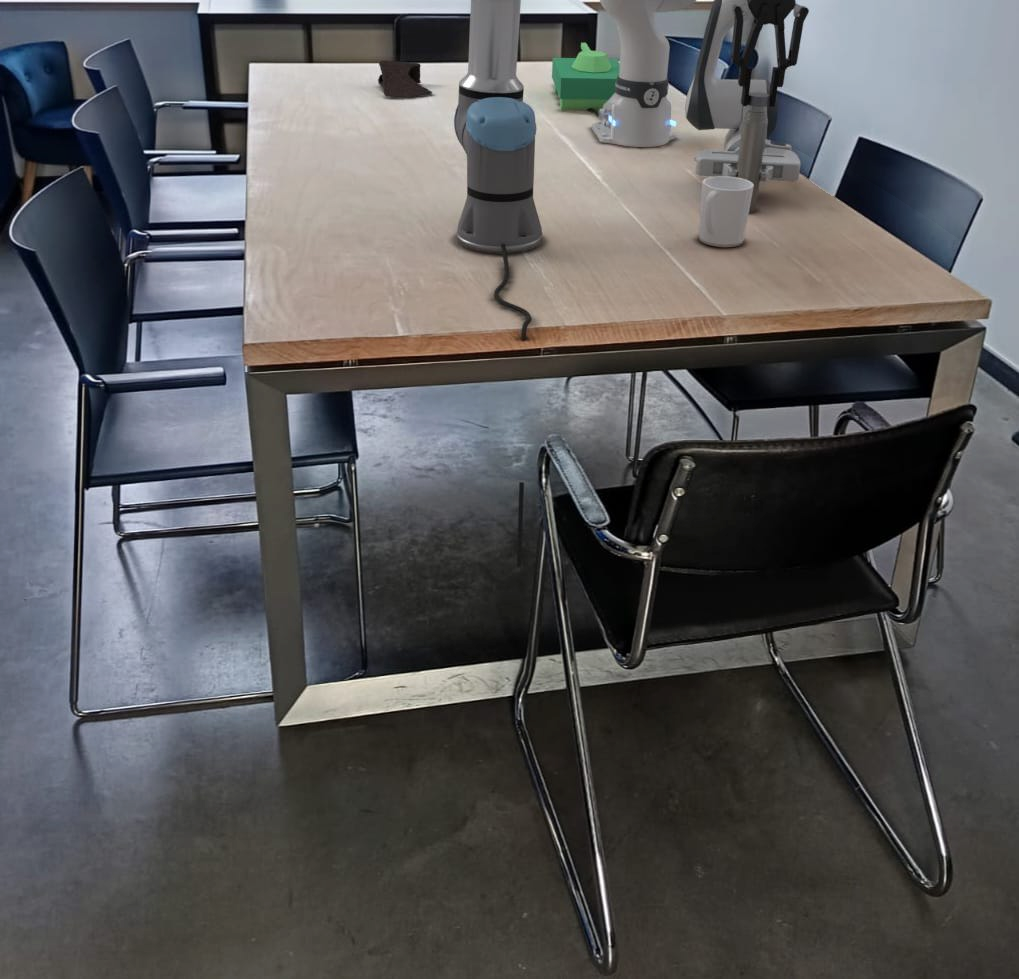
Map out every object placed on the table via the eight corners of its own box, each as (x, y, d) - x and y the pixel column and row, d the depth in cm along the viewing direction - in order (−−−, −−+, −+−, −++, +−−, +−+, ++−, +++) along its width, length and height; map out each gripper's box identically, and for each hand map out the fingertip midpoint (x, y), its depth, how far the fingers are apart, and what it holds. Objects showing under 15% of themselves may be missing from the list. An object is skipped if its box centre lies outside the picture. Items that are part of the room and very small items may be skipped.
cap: (773, 106, 203) (774, 96, 202) (751, 107, 202) (753, 97, 201) (763, 101, 206) (764, 91, 205) (742, 102, 205) (743, 92, 204)
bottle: (738, 213, 212) (753, 100, 201) (727, 206, 216) (741, 95, 205) (759, 212, 213) (775, 99, 202) (748, 205, 217) (763, 94, 206)
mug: (712, 228, 203) (718, 173, 198) (754, 239, 198) (762, 182, 193) (680, 243, 196) (686, 186, 191) (724, 254, 191) (731, 196, 186)
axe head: (443, 87, 294) (392, 77, 287) (436, 115, 299) (385, 106, 292) (421, 62, 307) (371, 52, 300) (414, 89, 311) (365, 80, 304)
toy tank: (614, 39, 306) (631, 63, 276) (610, 85, 312) (627, 113, 282) (551, 38, 305) (561, 62, 275) (549, 84, 311) (559, 112, 281)
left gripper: (730, -32, 189) (714, 108, 201) (830, -30, 189) (808, 110, 201) (723, -37, 195) (708, 99, 207) (820, -35, 195) (799, 101, 207)
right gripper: (696, 139, 222) (695, 156, 210) (799, 144, 219) (804, 162, 207) (692, 170, 225) (692, 189, 213) (794, 176, 222) (799, 195, 211)
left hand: (757, 104), depth 204 cm, fingers open, 4 cm apart
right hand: (748, 176), depth 210 cm, fingers closed on bottle, 4 cm apart
